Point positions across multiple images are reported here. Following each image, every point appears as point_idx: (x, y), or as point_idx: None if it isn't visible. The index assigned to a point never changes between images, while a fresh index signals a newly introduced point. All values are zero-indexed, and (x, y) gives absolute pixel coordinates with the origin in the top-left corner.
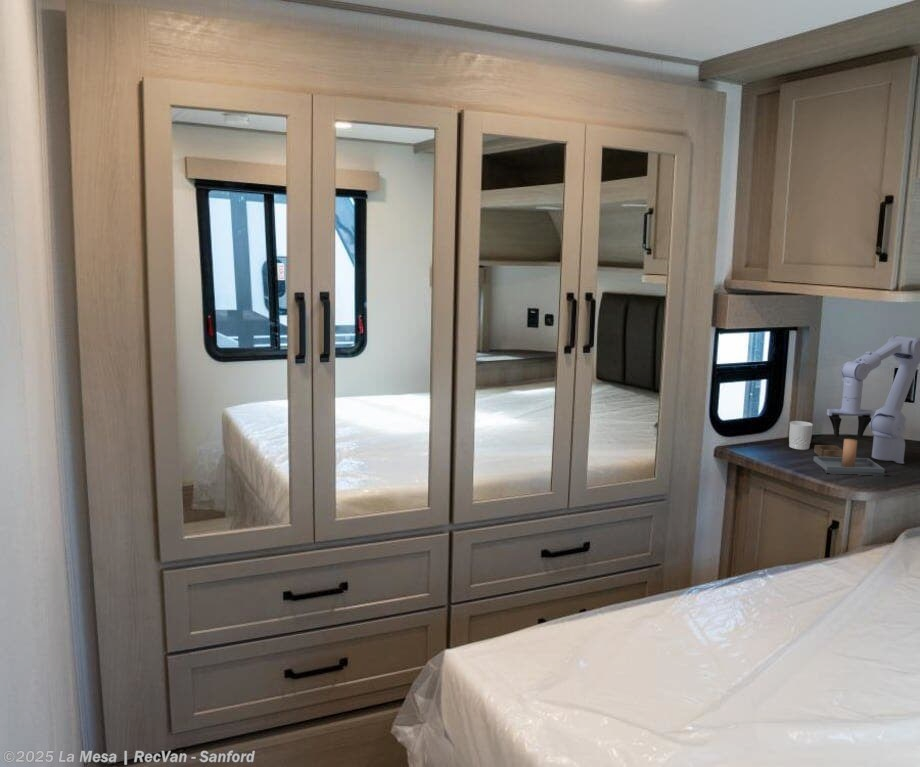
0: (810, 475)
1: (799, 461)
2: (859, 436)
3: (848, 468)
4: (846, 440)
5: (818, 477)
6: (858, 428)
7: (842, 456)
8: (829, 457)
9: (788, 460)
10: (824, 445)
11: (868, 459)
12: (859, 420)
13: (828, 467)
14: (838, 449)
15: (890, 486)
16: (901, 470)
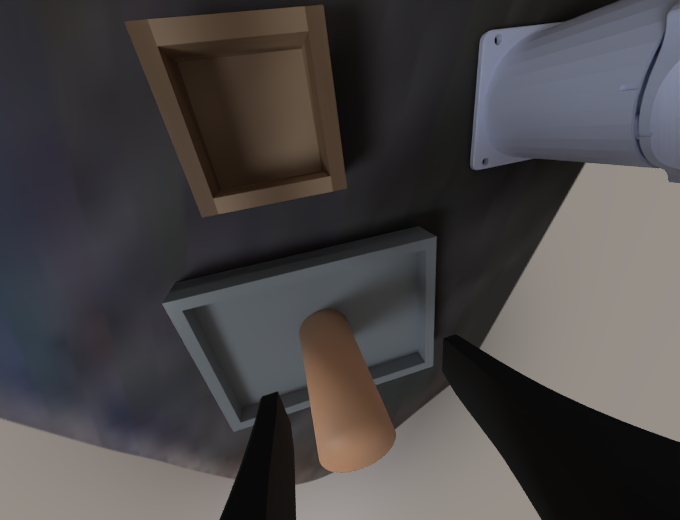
0: (179, 439)
1: (95, 272)
2: (445, 367)
3: None
4: (330, 465)
5: (208, 444)
6: (493, 387)
7: (304, 365)
8: (250, 293)
9: (22, 275)
10: (219, 22)
11: (428, 258)
12: (585, 486)
13: (238, 427)
14: (320, 119)
15: (399, 420)
16: (507, 253)
